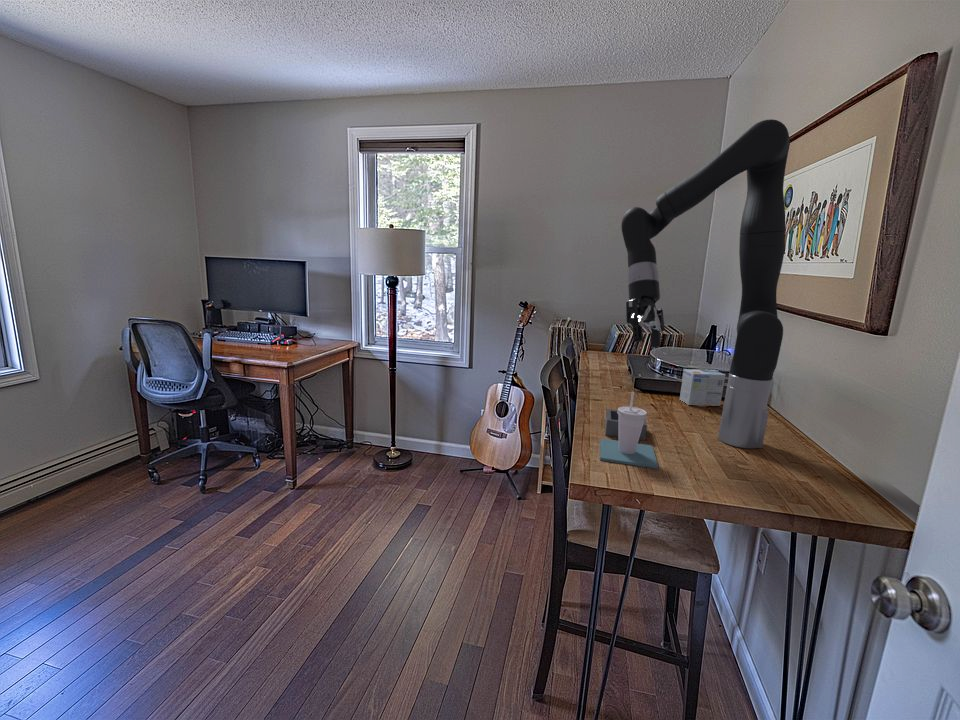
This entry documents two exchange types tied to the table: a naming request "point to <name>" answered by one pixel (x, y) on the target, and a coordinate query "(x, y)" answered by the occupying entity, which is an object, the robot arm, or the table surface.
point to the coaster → (639, 458)
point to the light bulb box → (702, 387)
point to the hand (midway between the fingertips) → (647, 344)
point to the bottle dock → (612, 424)
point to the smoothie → (630, 427)
